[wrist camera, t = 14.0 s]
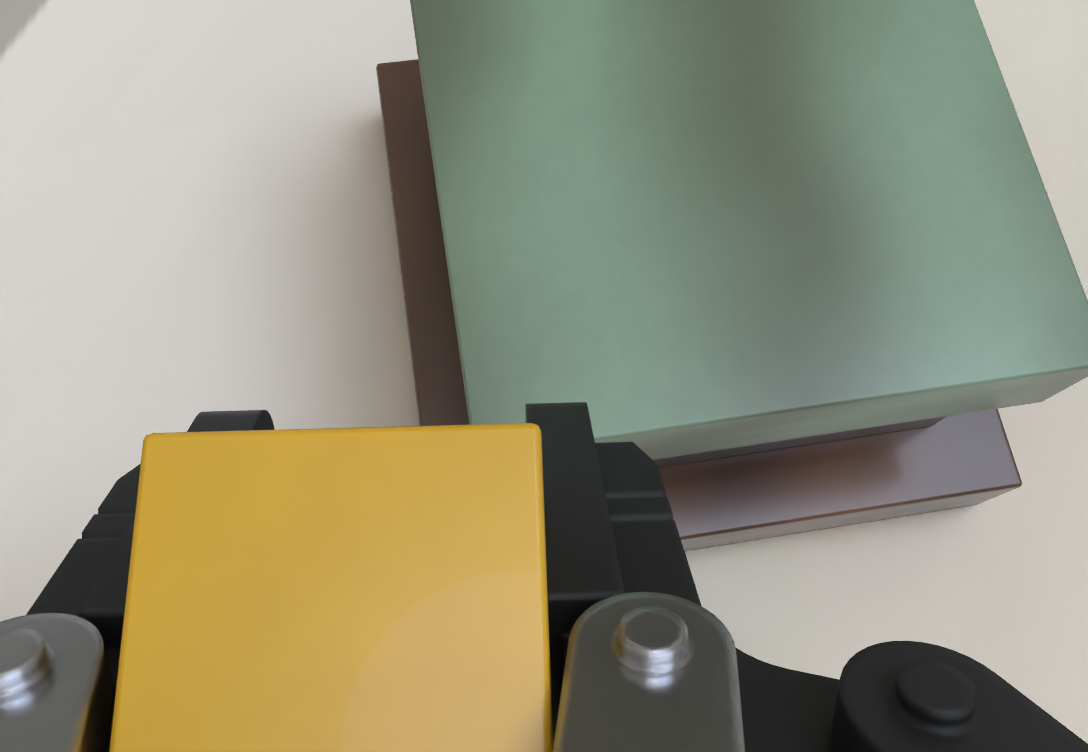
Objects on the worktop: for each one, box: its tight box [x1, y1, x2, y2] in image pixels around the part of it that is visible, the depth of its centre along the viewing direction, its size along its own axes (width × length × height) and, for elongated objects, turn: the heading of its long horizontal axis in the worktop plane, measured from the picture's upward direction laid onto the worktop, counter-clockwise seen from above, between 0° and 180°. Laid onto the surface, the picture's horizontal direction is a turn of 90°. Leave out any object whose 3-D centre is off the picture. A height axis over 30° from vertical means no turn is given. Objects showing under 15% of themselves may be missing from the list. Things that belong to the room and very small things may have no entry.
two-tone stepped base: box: [376, 0, 1088, 551], centre depth 19 cm, size 12×12×7 cm
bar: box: [109, 423, 553, 752], centre depth 11 cm, size 3×3×9 cm
